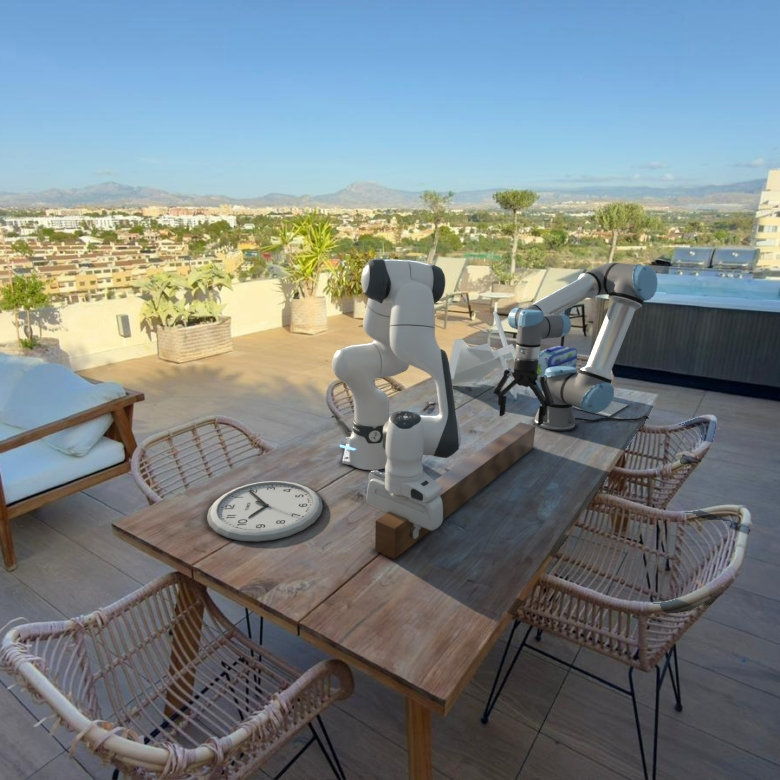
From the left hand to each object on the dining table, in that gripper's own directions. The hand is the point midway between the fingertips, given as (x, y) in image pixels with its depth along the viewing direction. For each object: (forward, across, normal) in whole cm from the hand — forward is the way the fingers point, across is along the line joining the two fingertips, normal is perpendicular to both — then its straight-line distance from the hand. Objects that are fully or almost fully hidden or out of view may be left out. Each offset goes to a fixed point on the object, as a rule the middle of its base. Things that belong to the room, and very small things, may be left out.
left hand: (402, 532), depth 126 cm
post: (+3, 0, +34) cm, 34 cm away
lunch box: (+3, -16, +145) cm, 146 cm away
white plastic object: (+3, -42, +120) cm, 128 cm away
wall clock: (+3, -37, -11) cm, 39 cm away
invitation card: (+3, +9, +136) cm, 136 cm away
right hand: (-9, 0, +68) cm, 69 cm away
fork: (+3, -50, +89) cm, 102 cm away
